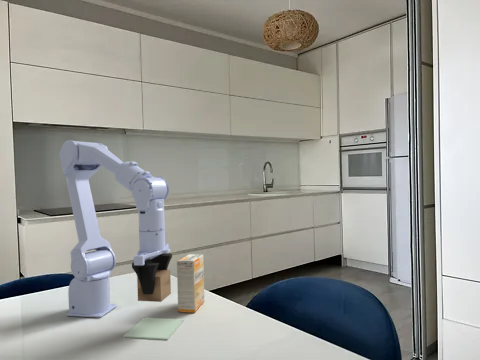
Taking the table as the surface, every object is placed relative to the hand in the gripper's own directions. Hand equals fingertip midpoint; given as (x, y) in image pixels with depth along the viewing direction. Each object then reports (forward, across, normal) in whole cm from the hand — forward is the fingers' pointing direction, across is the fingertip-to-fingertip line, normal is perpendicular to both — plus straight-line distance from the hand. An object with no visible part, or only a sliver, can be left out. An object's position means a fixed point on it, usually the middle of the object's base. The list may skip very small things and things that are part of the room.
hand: (154, 289), depth 81 cm
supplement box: (+9, +13, -4) cm, 16 cm away
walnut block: (+2, 0, 0) cm, 2 cm away
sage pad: (+8, -1, 0) cm, 9 cm away
